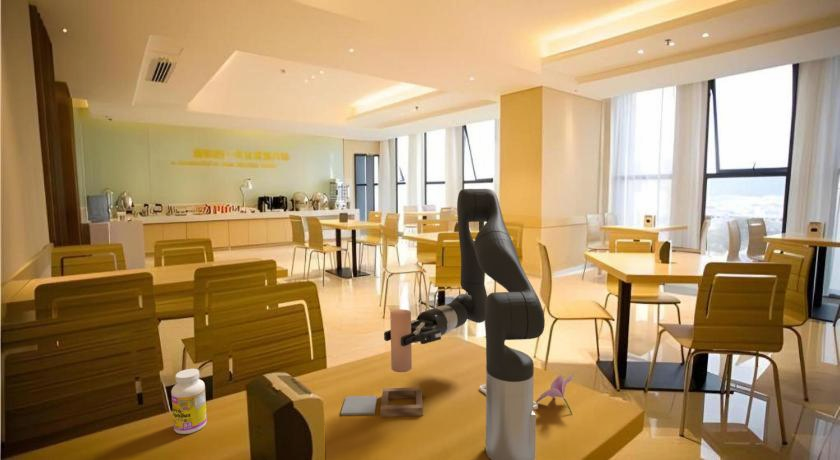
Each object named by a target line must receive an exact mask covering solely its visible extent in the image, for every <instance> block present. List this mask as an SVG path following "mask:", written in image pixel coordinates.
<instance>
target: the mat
mask: <svg viewBox="0 0 840 460" xmlns="http://www.w3.org/2000/svg"><path fill="white" fill-rule="evenodd" d="M377 401H378V395H360V396H359V395H357V396H355V395H354V396H351V395H350V396H347V395H346V396H345V398H344V401H343V405H342V407H341V411H340V416H364V415H365V416H369V415H375V414H376V409H377Z"/></svg>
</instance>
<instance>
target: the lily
mask: <svg viewBox="0 0 840 460" xmlns="http://www.w3.org/2000/svg"><path fill="white" fill-rule="evenodd" d="M576 374H577V372H575V373H573V374H571V375H569V376H568V377H566V378H564V377H563V376H562V375H557V377H556V378H555V379H553V381H552V382H551V383H550V389H548V390H546V391H544V392H542V393H541V394H540V396H539V397H538V399H536V400H535V402H536V403H537V404H538V403H539V402H540V401H541V400H543V399H544V398H546V397H551V398H552V399H555V398H562V399H563V400H564V402H565V404H566V406H567V408H568V410H569V412H570V414H571V415H573V412H572V410H571V407H570V406H569V403H568V401H567V400H566V397H565V391H566V386H567V384H568V383H570V382H572V381H573V380H574V378H573V377H574V376H575V375H576Z"/></svg>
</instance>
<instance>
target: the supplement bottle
mask: <svg viewBox="0 0 840 460" xmlns="http://www.w3.org/2000/svg"><path fill="white" fill-rule="evenodd" d="M174 377H175V378H174V379H175V382H176V383H175V384H174V386H173V387H172V388H171V391H170V393H171V404H172V406H171V407H172V421H173V431H174V432H175V433H177V434H179V435H187V434H194V433H196V432H198V431H199V430H201V429H203V428H204V427H205V426H206V424H207V422H208V421H207V418H208V414H207V403H206V401H207V400H206V385H205V382H204V381H203V380H202V379H200V370H199V369H197V368H187V369H183V370H180V371H178V372H177V373H176V374H175V376H174Z"/></svg>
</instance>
